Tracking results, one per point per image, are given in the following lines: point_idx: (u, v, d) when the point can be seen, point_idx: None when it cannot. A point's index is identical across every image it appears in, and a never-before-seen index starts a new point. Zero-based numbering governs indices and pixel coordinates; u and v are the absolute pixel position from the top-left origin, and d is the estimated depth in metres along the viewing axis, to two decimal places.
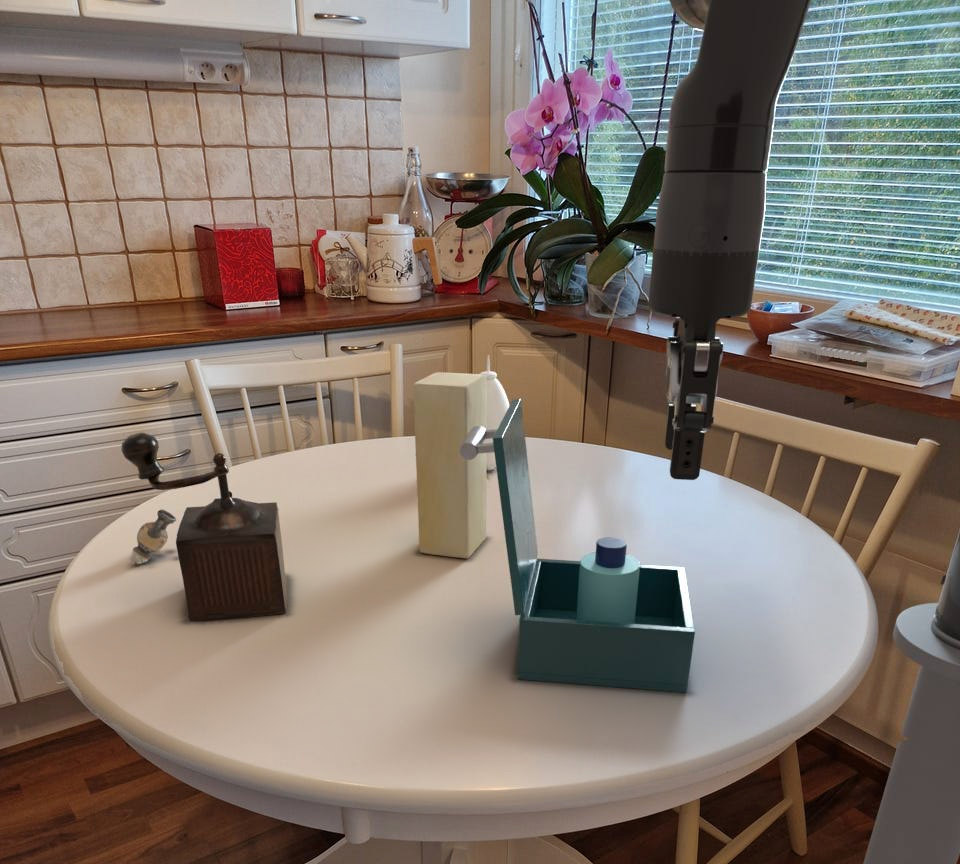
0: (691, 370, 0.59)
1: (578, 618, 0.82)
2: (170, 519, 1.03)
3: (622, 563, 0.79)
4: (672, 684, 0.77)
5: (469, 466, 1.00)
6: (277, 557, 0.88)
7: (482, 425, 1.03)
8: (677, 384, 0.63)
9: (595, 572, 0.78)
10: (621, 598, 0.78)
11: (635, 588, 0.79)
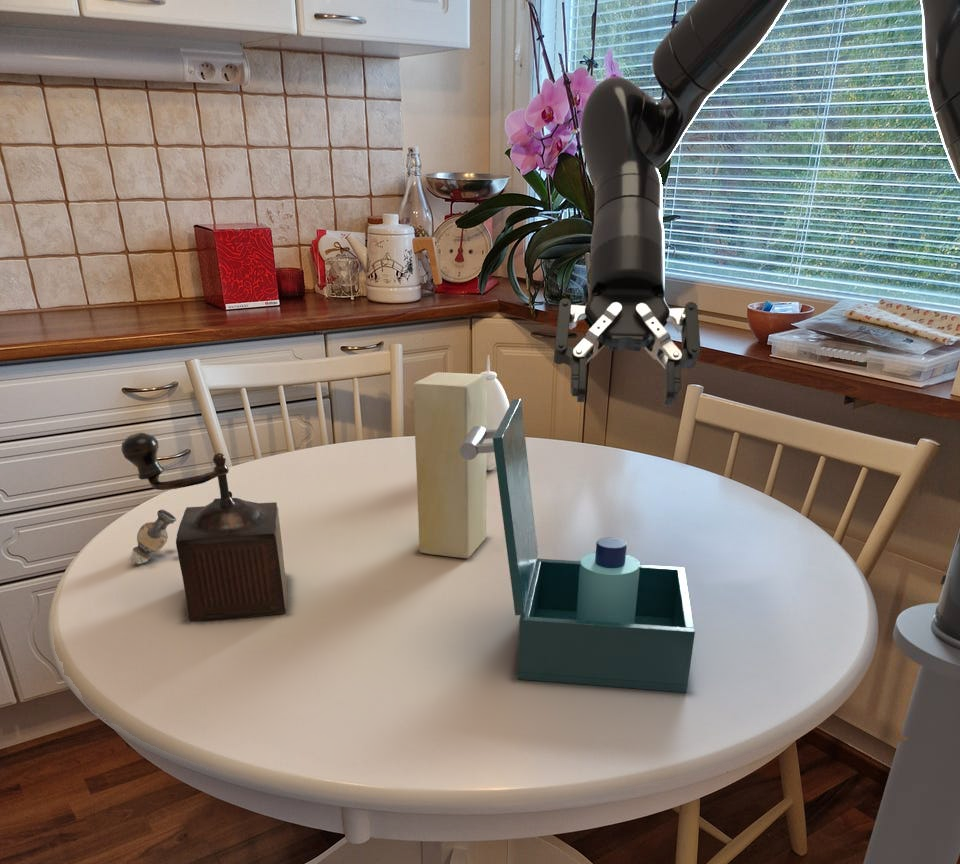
0: None
1: (578, 618, 0.82)
2: (170, 519, 1.03)
3: (622, 563, 0.79)
4: (672, 684, 0.77)
5: (469, 466, 1.00)
6: (277, 557, 0.88)
7: (482, 425, 1.03)
8: None
9: (595, 572, 0.78)
10: (621, 598, 0.78)
11: (635, 588, 0.79)
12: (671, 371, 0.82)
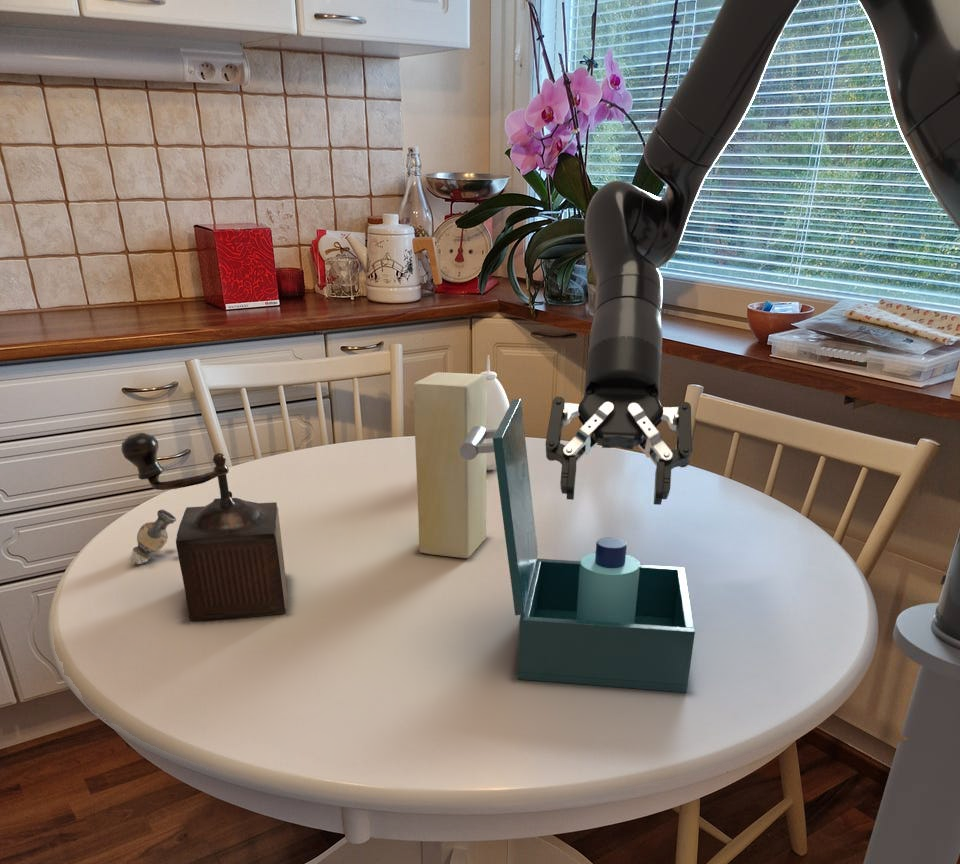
0: None
1: (578, 618, 0.82)
2: (170, 519, 1.03)
3: (622, 563, 0.79)
4: (672, 684, 0.77)
5: (469, 466, 1.00)
6: (277, 557, 0.88)
7: (482, 425, 1.03)
8: None
9: (595, 572, 0.78)
10: (621, 598, 0.78)
11: (635, 588, 0.79)
12: (661, 471, 0.82)
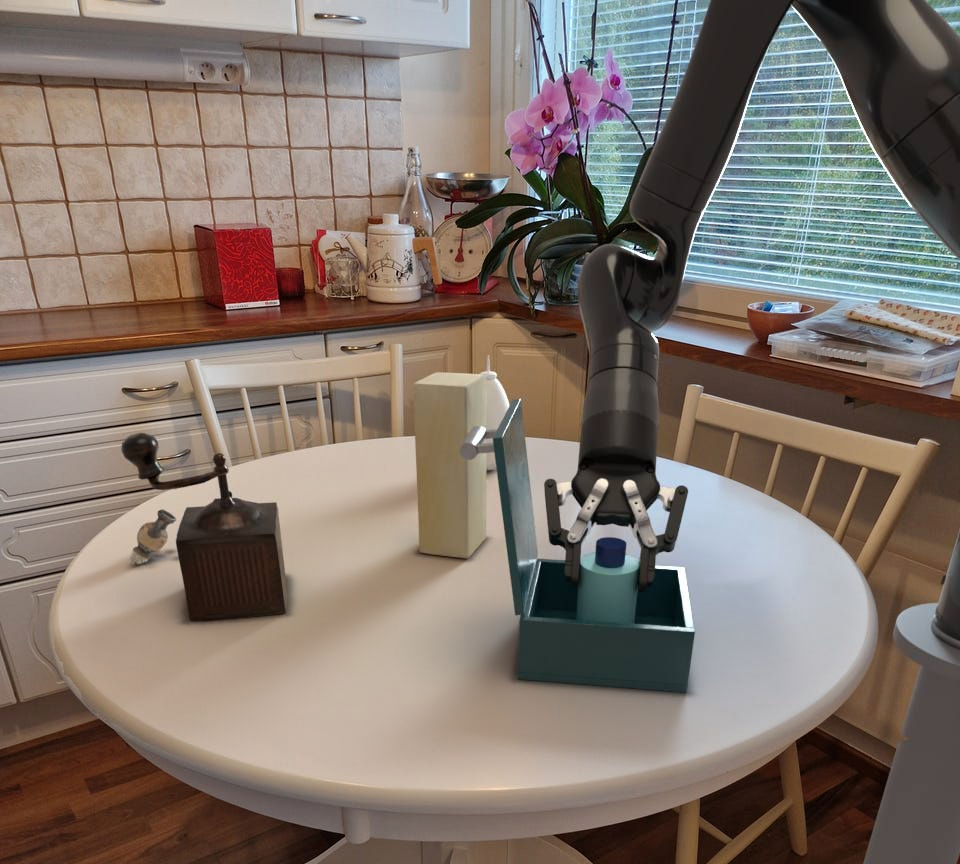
0: None
1: (578, 618, 0.82)
2: (170, 519, 1.03)
3: (622, 563, 0.79)
4: (672, 684, 0.77)
5: (469, 466, 1.00)
6: (277, 557, 0.88)
7: (482, 425, 1.03)
8: None
9: (595, 572, 0.78)
10: (621, 598, 0.78)
11: (635, 588, 0.79)
12: (645, 559, 0.78)
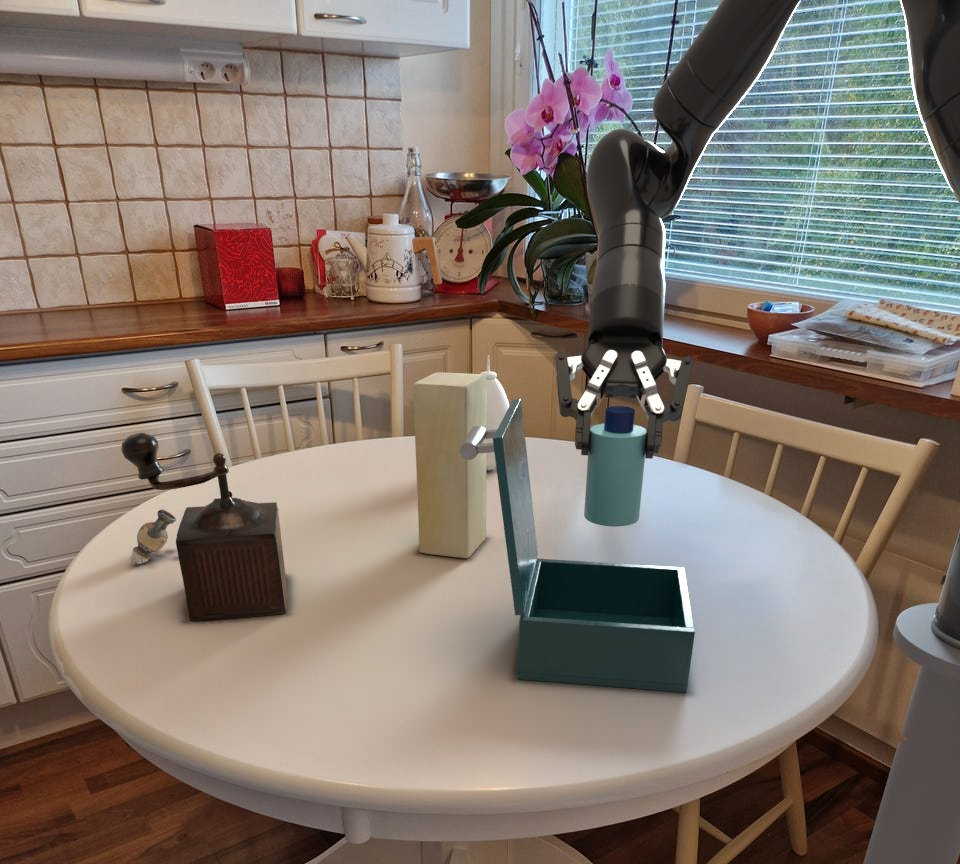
0: (556, 379, 0.86)
1: (588, 486, 0.85)
2: (170, 519, 1.03)
3: (630, 429, 0.82)
4: (672, 684, 0.77)
5: (469, 466, 1.00)
6: (277, 557, 0.88)
7: (482, 425, 1.03)
8: None
9: (604, 436, 0.81)
10: (630, 462, 0.82)
11: (643, 454, 0.82)
12: (652, 424, 0.81)
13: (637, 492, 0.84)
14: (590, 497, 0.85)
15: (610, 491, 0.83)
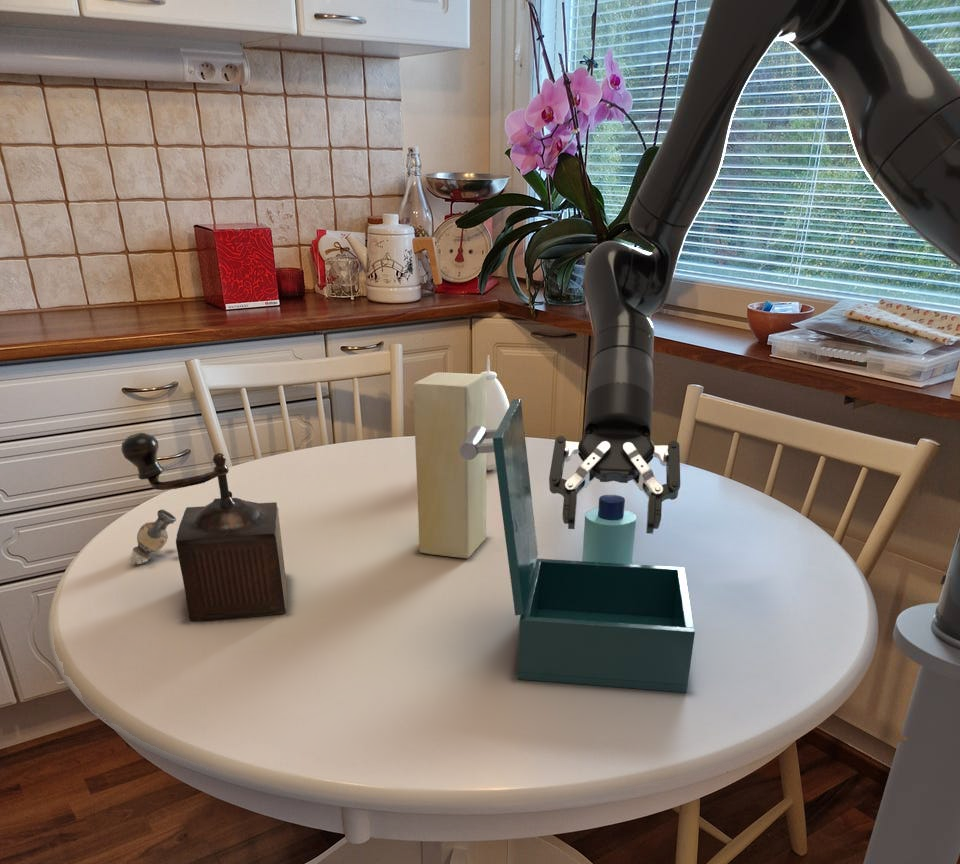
0: None
1: None
2: (170, 519, 1.03)
3: (621, 516, 0.92)
4: (672, 684, 0.77)
5: (469, 466, 1.00)
6: (277, 557, 0.88)
7: (482, 425, 1.03)
8: None
9: (598, 523, 0.91)
10: (620, 545, 0.92)
11: (632, 538, 0.93)
12: (652, 504, 0.91)
13: None
14: None
15: None
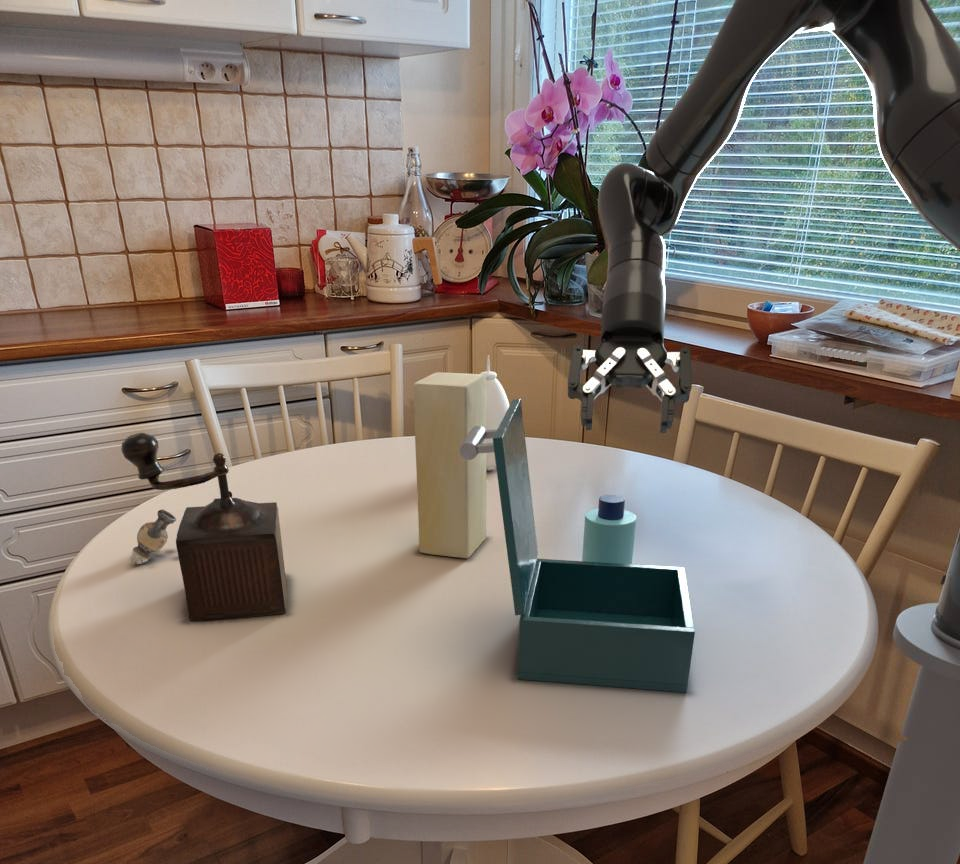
0: None
1: None
2: (170, 519, 1.03)
3: (621, 516, 0.92)
4: (672, 684, 0.77)
5: (469, 466, 1.00)
6: (277, 557, 0.88)
7: (482, 425, 1.03)
8: None
9: (598, 523, 0.91)
10: (620, 545, 0.92)
11: (632, 538, 0.93)
12: (665, 404, 0.97)
13: None
14: None
15: None
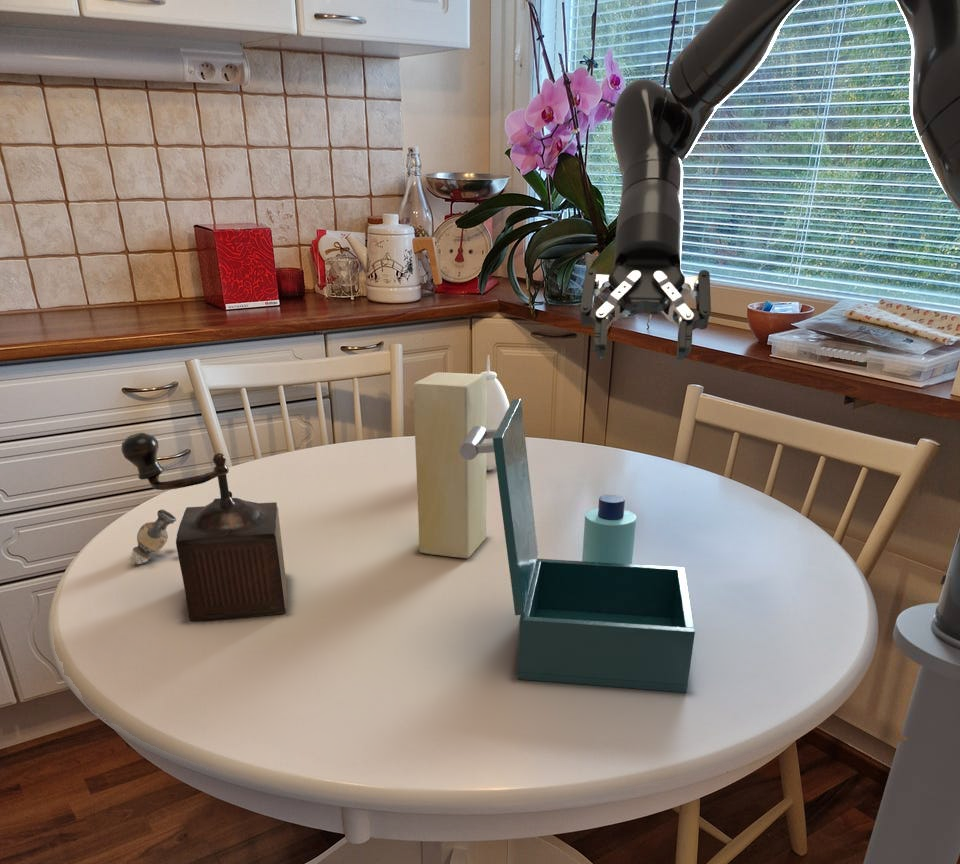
0: None
1: None
2: (170, 519, 1.03)
3: (621, 516, 0.92)
4: (672, 684, 0.77)
5: (469, 466, 1.00)
6: (277, 557, 0.88)
7: (482, 425, 1.03)
8: None
9: (598, 523, 0.91)
10: (620, 545, 0.92)
11: (632, 538, 0.93)
12: (683, 329, 0.92)
13: None
14: None
15: None
